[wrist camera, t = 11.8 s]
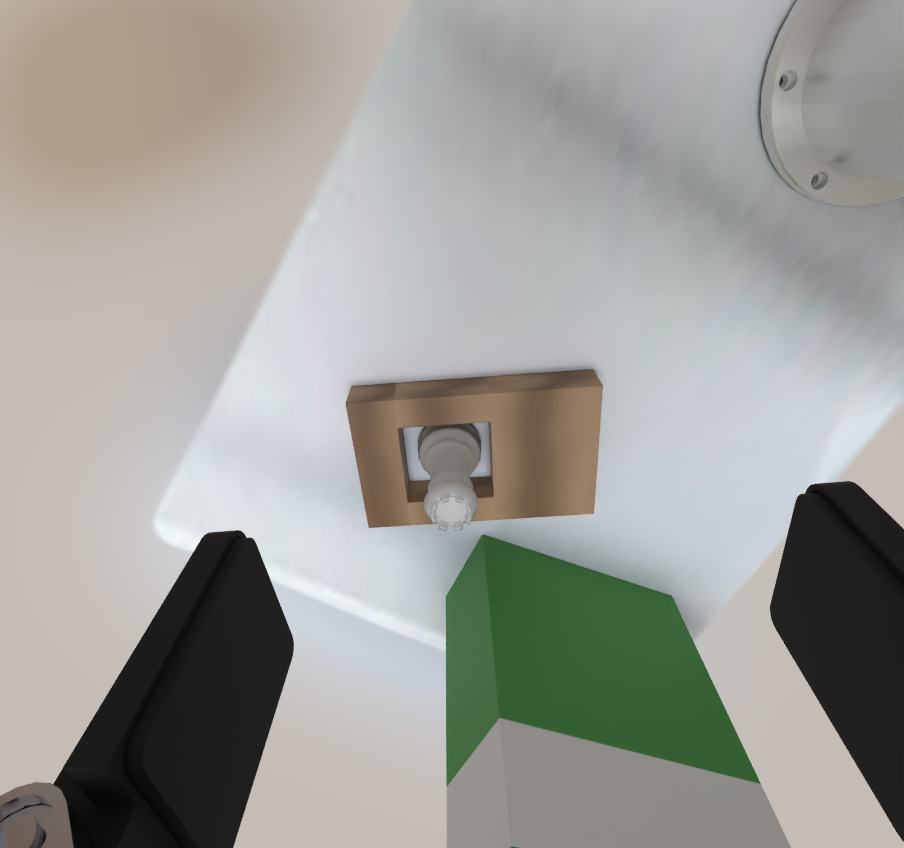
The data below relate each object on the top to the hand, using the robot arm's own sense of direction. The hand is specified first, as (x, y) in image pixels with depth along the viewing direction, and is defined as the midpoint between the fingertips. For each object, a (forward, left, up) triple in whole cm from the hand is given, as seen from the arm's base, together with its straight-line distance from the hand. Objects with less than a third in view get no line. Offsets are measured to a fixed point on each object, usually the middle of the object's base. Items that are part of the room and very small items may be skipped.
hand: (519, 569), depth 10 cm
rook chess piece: (+2, +13, -26) cm, 29 cm away
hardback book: (-6, +29, -26) cm, 39 cm away
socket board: (0, +13, -26) cm, 29 cm away
